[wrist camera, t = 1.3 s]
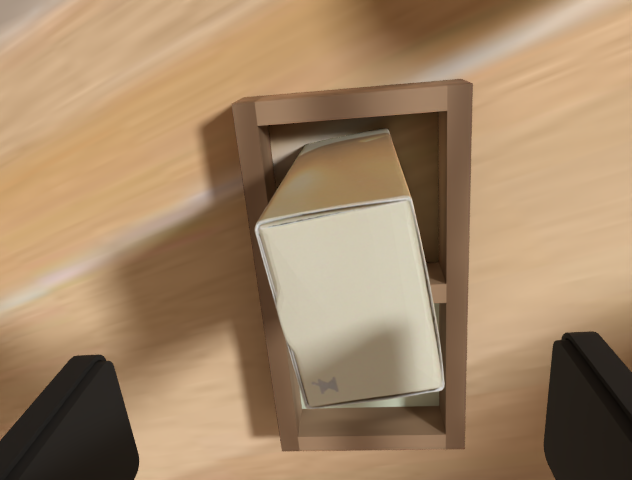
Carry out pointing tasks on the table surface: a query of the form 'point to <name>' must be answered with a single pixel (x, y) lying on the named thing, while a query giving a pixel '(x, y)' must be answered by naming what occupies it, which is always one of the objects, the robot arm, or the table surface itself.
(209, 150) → the table surface
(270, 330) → the divided wooden tray
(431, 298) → the skincare box
